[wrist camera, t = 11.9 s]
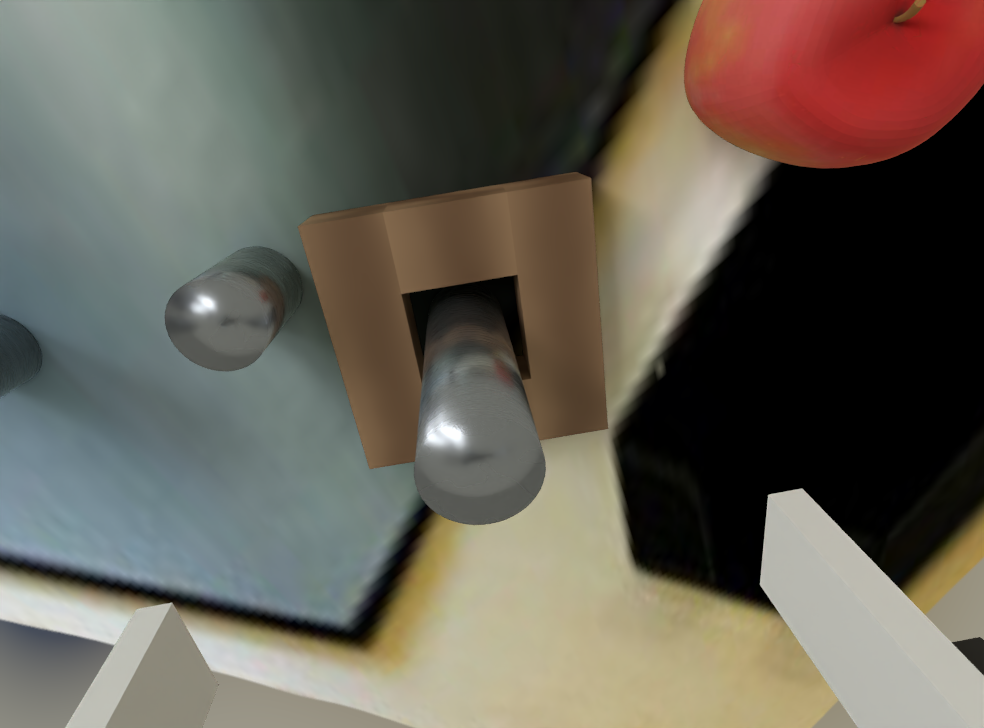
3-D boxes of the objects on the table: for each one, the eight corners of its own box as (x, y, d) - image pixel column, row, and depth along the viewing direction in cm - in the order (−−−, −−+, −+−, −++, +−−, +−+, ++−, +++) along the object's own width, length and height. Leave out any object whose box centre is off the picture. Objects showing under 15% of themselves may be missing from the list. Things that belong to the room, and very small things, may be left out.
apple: (889, 53, 25) (1136, 18, 16) (725, 203, 28) (861, 244, 19) (783, -140, 22) (1018, -318, 13) (606, 48, 24) (702, 8, 15)
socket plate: (376, 438, 32) (369, 469, 29) (312, 215, 26) (297, 226, 24) (594, 402, 32) (607, 428, 29) (576, 171, 27) (591, 178, 24)
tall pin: (435, 357, 30) (428, 534, 17) (421, 288, 28) (401, 428, 16) (506, 345, 30) (551, 513, 17) (496, 276, 28) (538, 405, 16)
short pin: (236, 328, 28) (187, 378, 23) (208, 253, 27) (148, 288, 21) (312, 315, 29) (280, 362, 23) (289, 240, 27) (249, 271, 21)
